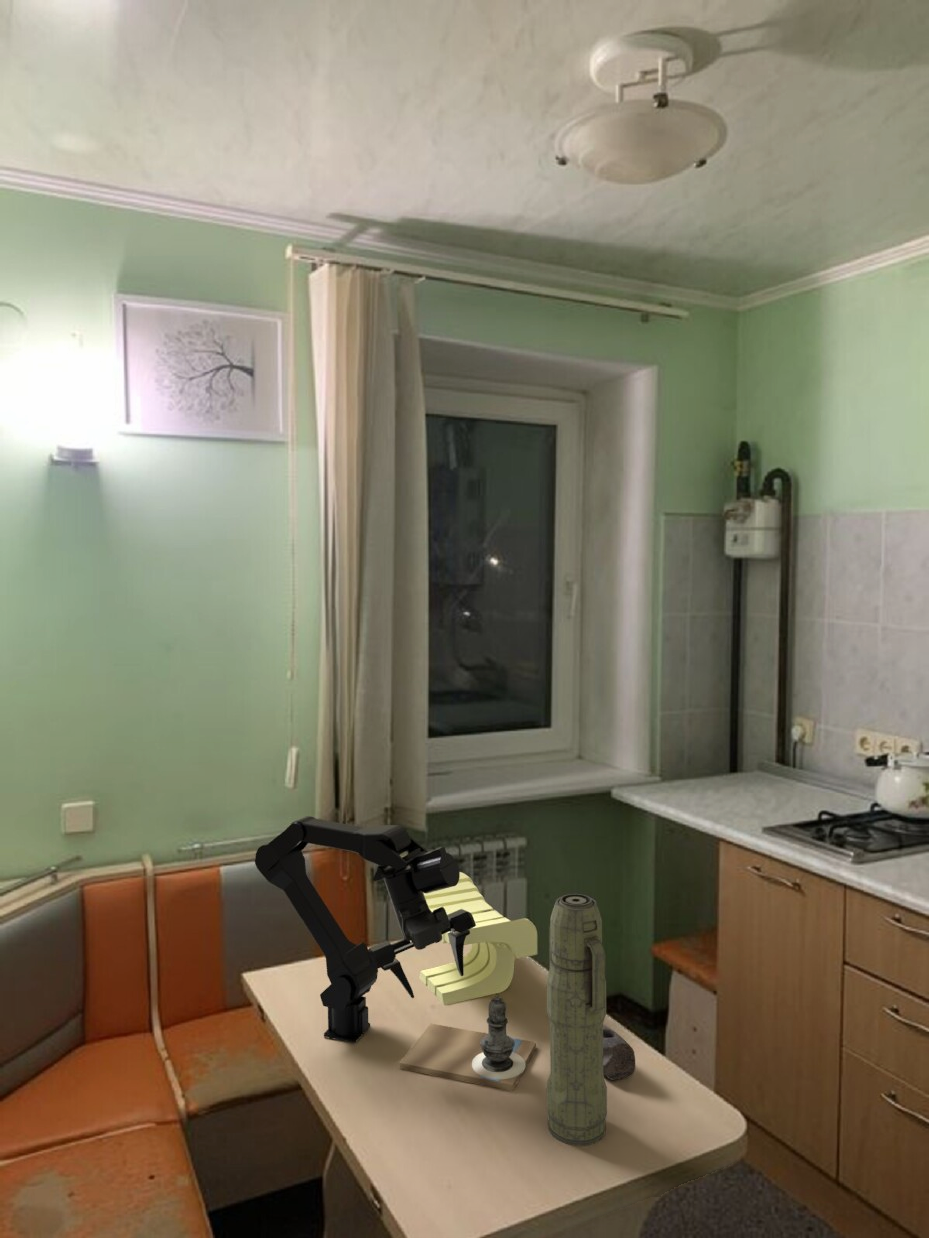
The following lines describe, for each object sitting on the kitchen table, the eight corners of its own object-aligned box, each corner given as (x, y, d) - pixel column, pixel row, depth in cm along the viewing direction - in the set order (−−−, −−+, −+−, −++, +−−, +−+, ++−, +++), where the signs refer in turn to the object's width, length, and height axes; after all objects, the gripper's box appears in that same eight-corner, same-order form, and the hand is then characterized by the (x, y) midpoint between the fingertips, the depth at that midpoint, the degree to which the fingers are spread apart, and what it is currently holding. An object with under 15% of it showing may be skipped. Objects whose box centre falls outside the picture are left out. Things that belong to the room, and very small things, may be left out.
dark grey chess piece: (498, 1077, 148) (498, 1005, 148) (472, 1063, 152) (472, 994, 152) (522, 1062, 153) (521, 993, 152) (496, 1050, 157) (495, 982, 156)
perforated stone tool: (564, 1047, 160) (564, 1008, 159) (589, 1040, 162) (589, 1002, 161) (611, 1091, 146) (611, 1050, 146) (638, 1084, 148) (638, 1042, 148)
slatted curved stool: (537, 1006, 174) (537, 915, 173) (462, 1024, 168) (461, 930, 167) (471, 947, 202) (470, 869, 201) (404, 961, 195) (403, 880, 194)
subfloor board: (399, 1068, 153) (399, 1062, 153) (430, 1028, 166) (430, 1022, 166) (515, 1091, 146) (515, 1084, 146) (538, 1047, 159) (538, 1041, 159)
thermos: (583, 1159, 129) (582, 918, 127) (529, 1119, 139) (527, 894, 137) (626, 1135, 134) (626, 904, 133) (571, 1098, 144) (570, 882, 142)
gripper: (364, 924, 148) (395, 1019, 146) (468, 881, 153) (499, 972, 152) (355, 917, 158) (384, 1005, 156) (452, 877, 164) (481, 961, 162)
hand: (437, 986), depth 156 cm, fingers open, 9 cm apart
